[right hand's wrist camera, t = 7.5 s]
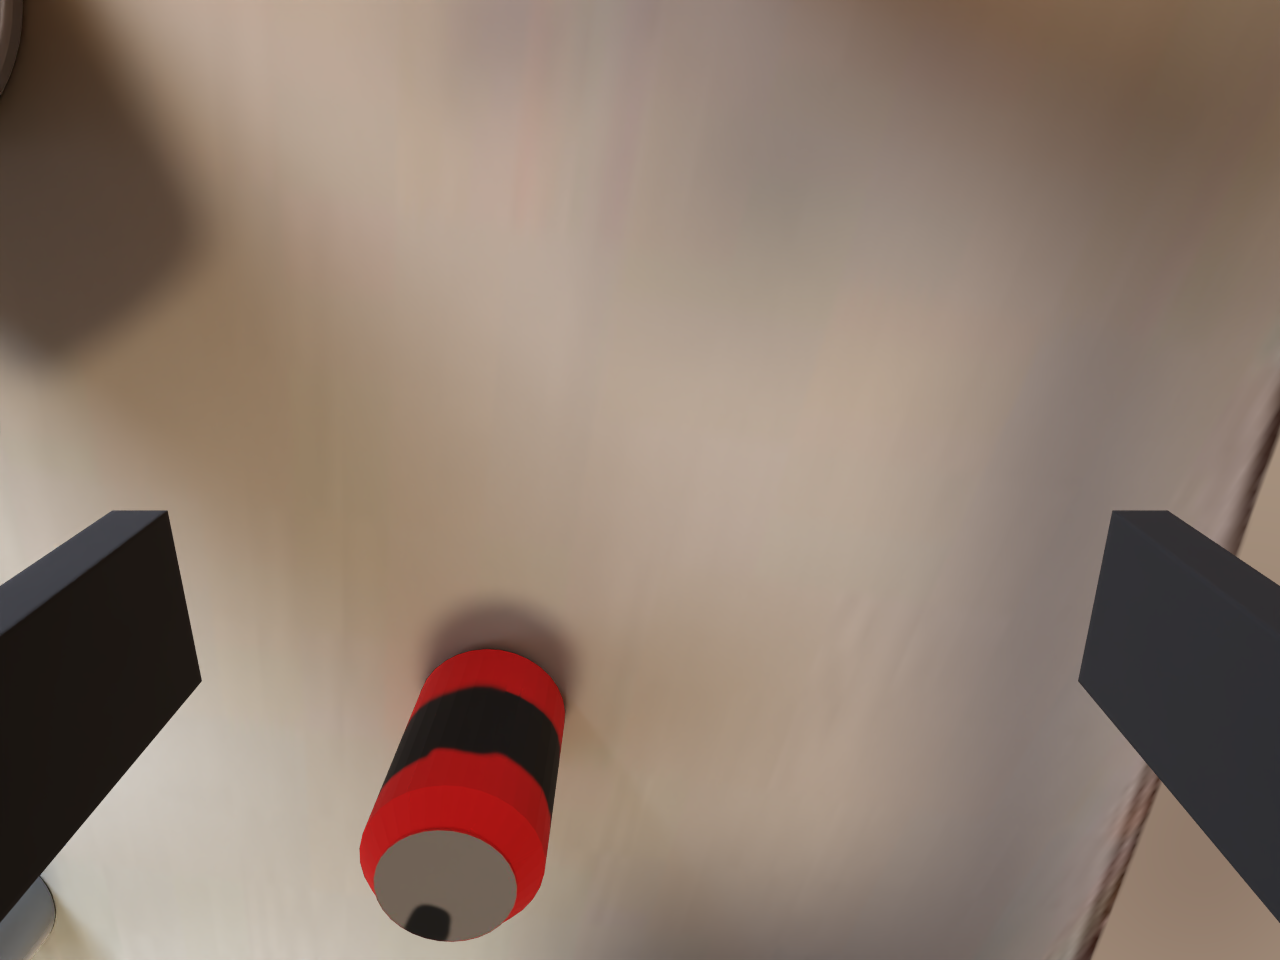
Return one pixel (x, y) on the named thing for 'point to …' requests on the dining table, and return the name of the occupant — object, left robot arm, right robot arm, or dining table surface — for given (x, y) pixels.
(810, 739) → the dining table surface
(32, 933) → the jar
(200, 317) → the dining table surface
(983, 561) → the dining table surface
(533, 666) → the soda can
